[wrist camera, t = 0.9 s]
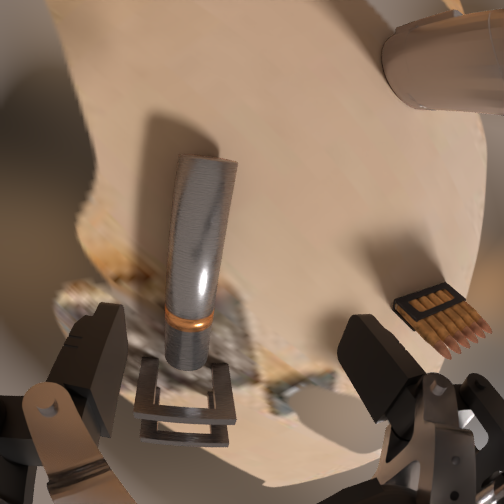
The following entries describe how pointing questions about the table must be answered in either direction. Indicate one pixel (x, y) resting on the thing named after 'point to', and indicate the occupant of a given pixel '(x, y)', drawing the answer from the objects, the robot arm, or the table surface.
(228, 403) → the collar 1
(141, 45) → the table surface
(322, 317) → the table surface
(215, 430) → the dark grey rectangular frame
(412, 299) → the ammunition clip
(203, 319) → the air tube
